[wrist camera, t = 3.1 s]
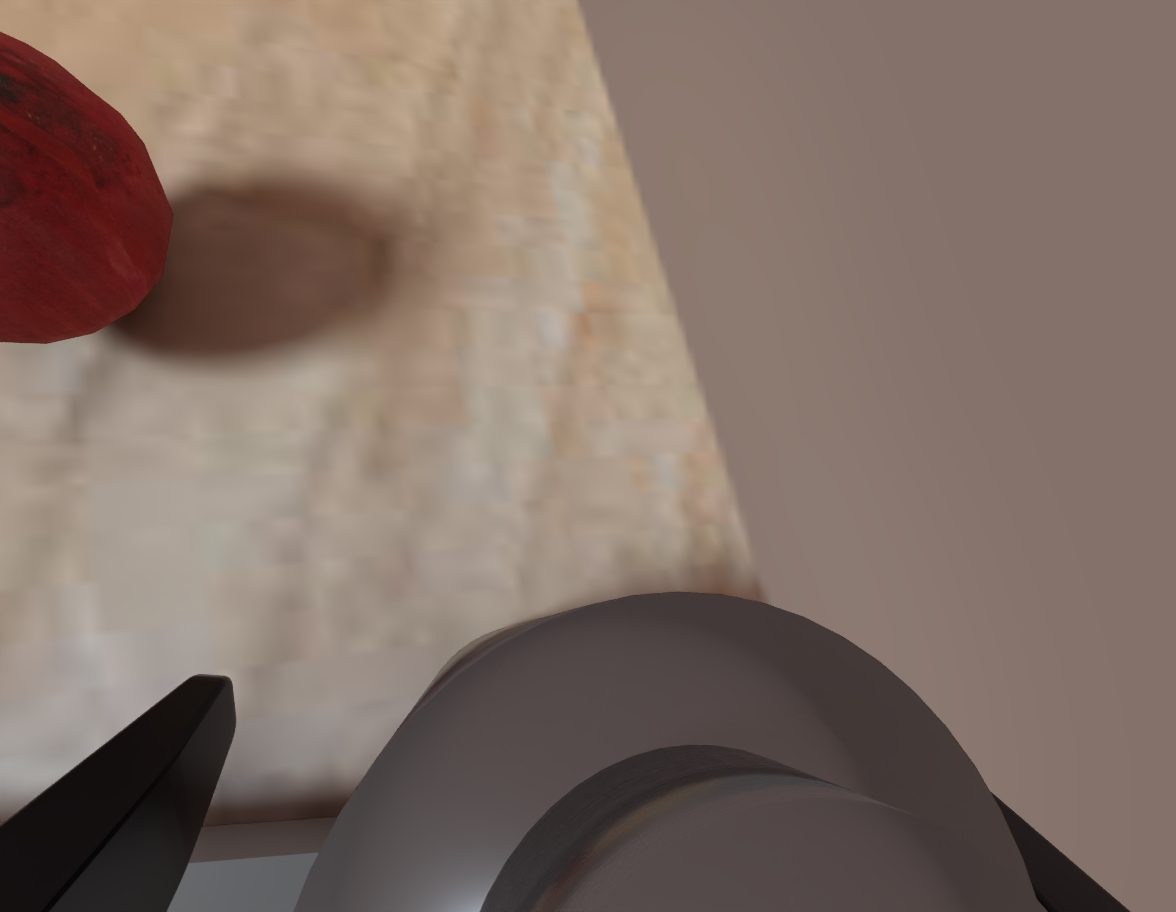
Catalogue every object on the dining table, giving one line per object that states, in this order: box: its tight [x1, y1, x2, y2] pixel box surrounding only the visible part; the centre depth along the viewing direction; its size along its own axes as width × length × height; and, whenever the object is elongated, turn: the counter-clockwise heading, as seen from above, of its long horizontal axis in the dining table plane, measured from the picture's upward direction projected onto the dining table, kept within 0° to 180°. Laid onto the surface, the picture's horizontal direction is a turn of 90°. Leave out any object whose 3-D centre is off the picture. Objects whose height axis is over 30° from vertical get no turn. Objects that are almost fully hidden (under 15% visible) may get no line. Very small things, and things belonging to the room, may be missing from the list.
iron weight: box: [293, 592, 1048, 912], centre depth 9 cm, size 5×5×14 cm
